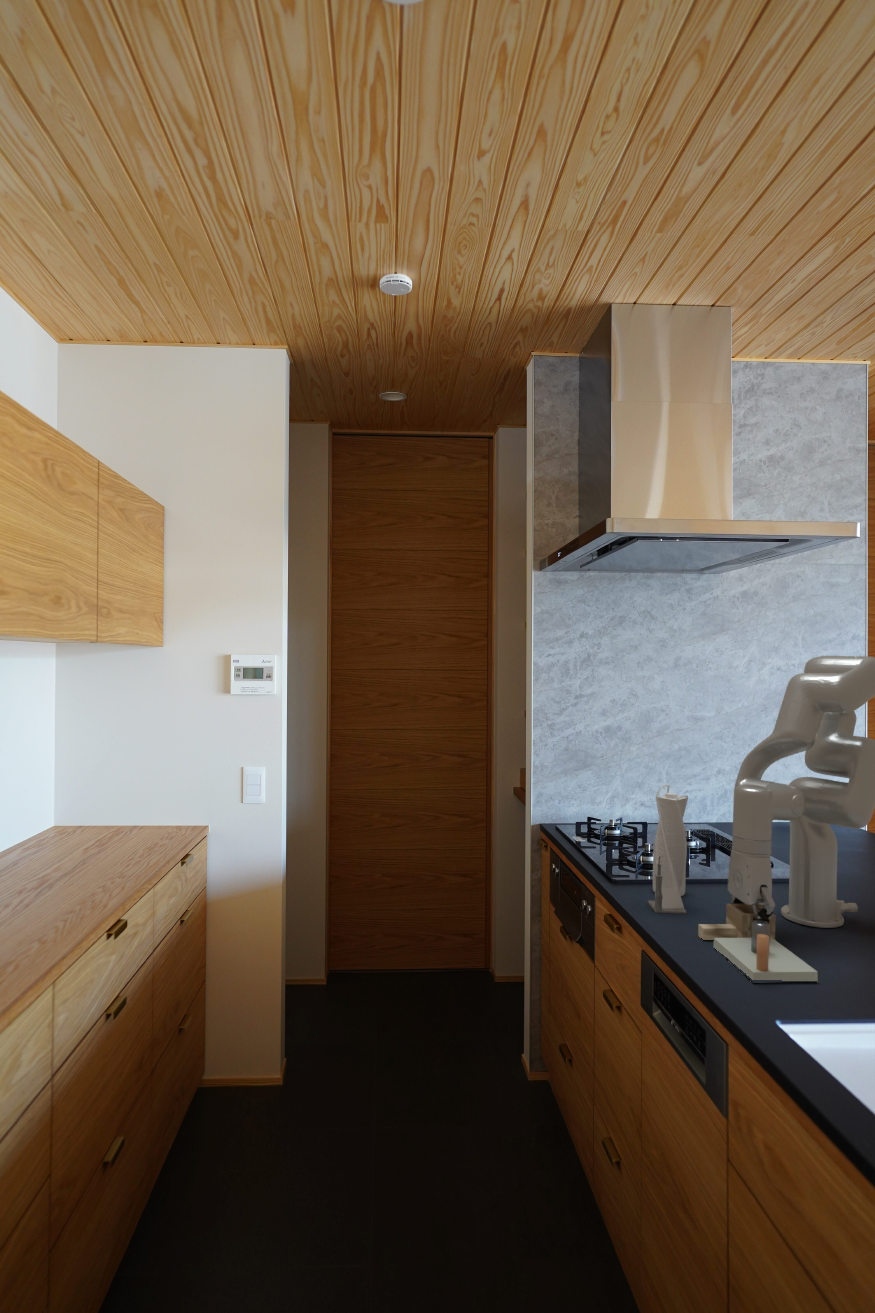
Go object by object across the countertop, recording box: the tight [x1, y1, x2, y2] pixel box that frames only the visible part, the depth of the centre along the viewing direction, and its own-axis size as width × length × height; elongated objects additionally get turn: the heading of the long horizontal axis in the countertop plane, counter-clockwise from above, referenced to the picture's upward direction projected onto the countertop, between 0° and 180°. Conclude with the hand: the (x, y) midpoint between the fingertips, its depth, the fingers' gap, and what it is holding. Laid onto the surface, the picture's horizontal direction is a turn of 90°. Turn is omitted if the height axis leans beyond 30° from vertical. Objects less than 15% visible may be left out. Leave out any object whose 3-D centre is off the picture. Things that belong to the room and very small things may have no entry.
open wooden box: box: [697, 903, 776, 941], centre depth 153 cm, size 14×7×6 cm, turn 94°
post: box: [751, 920, 770, 954], centre depth 141 cm, size 3×3×6 cm
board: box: [713, 938, 819, 982], centre depth 140 cm, size 12×16×2 cm
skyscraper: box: [647, 784, 689, 915], centre depth 171 cm, size 8×8×28 cm
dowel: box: [756, 934, 769, 972], centre depth 133 cm, size 2×2×6 cm
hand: (749, 929), depth 152 cm, fingers open, 8 cm apart
